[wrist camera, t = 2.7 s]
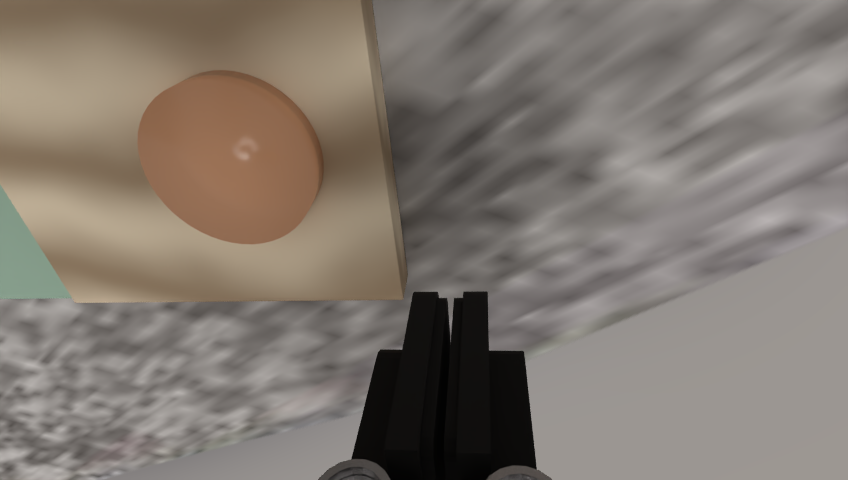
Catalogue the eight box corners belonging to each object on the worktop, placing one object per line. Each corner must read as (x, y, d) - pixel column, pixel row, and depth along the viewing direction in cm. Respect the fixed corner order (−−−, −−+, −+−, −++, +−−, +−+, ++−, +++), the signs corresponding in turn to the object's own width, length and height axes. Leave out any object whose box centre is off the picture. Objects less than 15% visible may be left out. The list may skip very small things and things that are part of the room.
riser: (-86, -40, 19) (-139, -37, 17) (360, -88, 17) (347, -89, 15) (99, 279, 28) (75, 302, 26) (407, 275, 26) (403, 299, 24)
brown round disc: (130, 77, 19) (105, 88, 18) (301, 62, 18) (288, 73, 17) (194, 229, 23) (177, 247, 21) (338, 223, 22) (330, 241, 20)
